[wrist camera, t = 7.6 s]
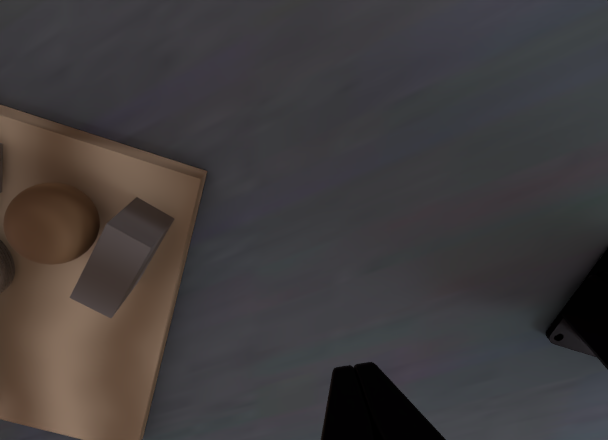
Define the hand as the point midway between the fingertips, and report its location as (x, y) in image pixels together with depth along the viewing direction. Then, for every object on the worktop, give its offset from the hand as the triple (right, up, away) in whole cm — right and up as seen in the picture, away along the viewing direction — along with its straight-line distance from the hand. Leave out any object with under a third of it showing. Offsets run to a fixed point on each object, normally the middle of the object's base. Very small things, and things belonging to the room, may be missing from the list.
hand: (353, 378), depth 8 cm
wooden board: (-16, -1, +15) cm, 22 cm away
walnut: (-12, +4, +11) cm, 17 cm away
